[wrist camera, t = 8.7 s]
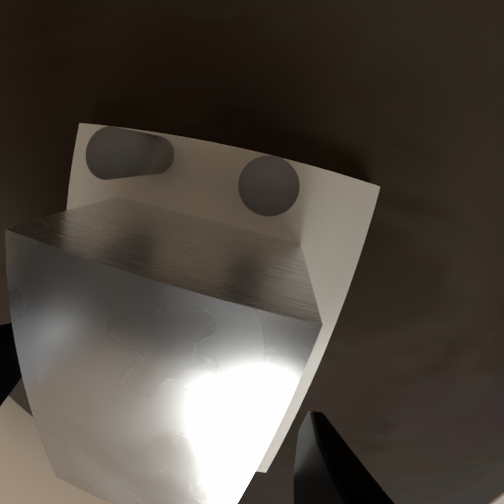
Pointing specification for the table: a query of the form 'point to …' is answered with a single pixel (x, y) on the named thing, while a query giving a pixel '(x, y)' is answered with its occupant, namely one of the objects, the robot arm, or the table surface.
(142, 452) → the block
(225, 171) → the pin tray
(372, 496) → the robot arm
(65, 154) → the table surface
